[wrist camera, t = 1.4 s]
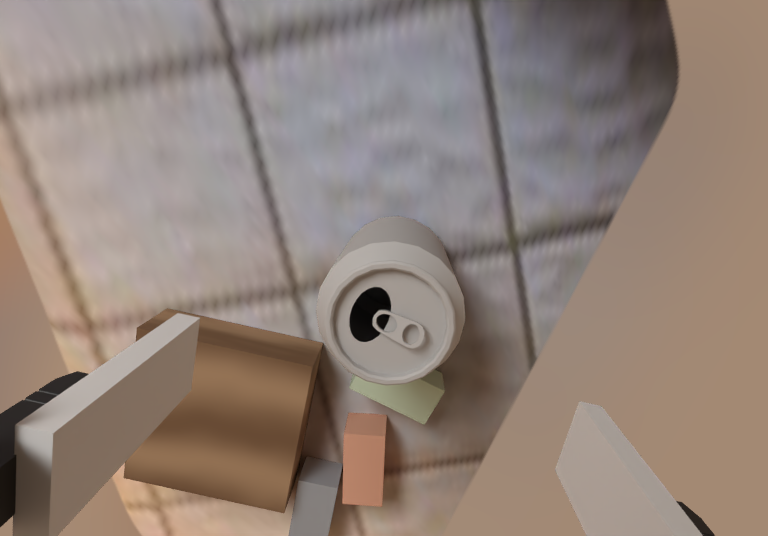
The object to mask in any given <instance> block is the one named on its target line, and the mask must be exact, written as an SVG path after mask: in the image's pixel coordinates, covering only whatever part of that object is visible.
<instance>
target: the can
mask: <svg viewBox="0 0 768 536" xmlns="http://www.w3.org/2000/svg"><path fill="white" fill-rule="evenodd" d="M316 314H317V320H318V327H319V332H320V334H321V336H322V338H323V340H324V342H325V344H326V346H327V348H328V350H329V352H330V353H331V354H332V355H333V356H334V357H335V358H336V359H337V360H338V361H339V362H340V363H341V364H342V365H343V366H344V367H345V368H346V369H347V371H348V372H350V373H352V374H354V375H356V376H357V377H359V378H361V379H363V380H365V381H367V382H372V383H377V384H381V385H399V384H407V383H410V382H412V381H415V380H418V379H420V378H423V377H425V376H426V375H428V374H429V373H431V372H432V371H433V370H435V369H436V368H437V367H439V366H440V365H441V364H442V363H444V362H445V361H446V360H447V359H448V358H449V356H450V355H451V353H452V352H453V350H454V349H455V347H456V346H457V344H458V343H459V341H460V338H461V334H462V331H463V327H464V323H465V305H464V296H463V294H462V291H461V289H460V286H459V284H458V281H457V279H456V276H455V274H454V271H453V269H452V266H451V264H450V262H449V259H448V257H447V254H446V252H445V249H444V247H443V245H442V242H441V241H440V239H439V238H438V237H437V236H436V235H435V234H434V233H433V231H432V230H431V229H430V228H428V227H427V226H425V225H423V224H421V223H420V222H418V221H416V220H414V219H409V218H405V217H400V216H394V217H384V218H379V219H377V220H375V221H372V222H370V223H368V224H366V225H364V226H363V227H362V228H361V229H360V230H359V231H358V232H357V233H355V234H354V235H353V236H352V238H351V239H350V241H349V242H348V244H347V245H346V247H345V248H344V250H343V251H342V253H341V254H340V256H339V257H338V259H337V260H336V262H335V263H334V265H333V266H332V268H331V270H330V271H329V273H328V275H327V277H326V279H325V280H324V282H323V284H322V286H321V287H320V291H319V296H318V302H317V307H316Z"/></svg>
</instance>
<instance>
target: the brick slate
mask: <svg viewBox="0 0 768 536" xmlns="http://www.w3.org/2000/svg"><path fill="white" fill-rule="evenodd" d="M342 466H343V464H341V463H336V462H331V461H326V460H322V459H317V458H312V457H307V456H306V459H305V462H304V466H303V469H302V472H301V475H300V478H299V481H298V486H297V492H296V498H295V503H294V509H293V514H292V520H291V525H290V531H289V536H328V534H329V529H330V524H331V519H332V514H333V510H334V505H335V500H336V495H337V490H338V485H339V480H340V475H341V471H342Z"/></svg>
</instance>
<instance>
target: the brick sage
mask: <svg viewBox="0 0 768 536" xmlns="http://www.w3.org/2000/svg"><path fill="white" fill-rule="evenodd" d="M349 388H350V389H352V390H354V391H356V392H358V393H360V394H362V395H364V396H366V397H368V398H370V399H372V400H374V401H376V402H378V403H380V404H382V405H384V406H386V407H389V408H391V409H393V410H395V411H397V412H399V413H401V414H403V415H405V416H407V417H409V418H411V419H413V420H415V421H417V422H419V423H421V424H423V425H425V423H426V422H427V420H428V418H429V417H430V415H431V413H432V412H433V410H434V409H435V407H436V405H437V404H438V402H439V400H440V399H441V397H442V395H443V394H444V392H445V389H444V383H443V377H442V373H441V372H439V371H437V370H433V371H432V372H431V373H429V374H428V375H426V376H425V377H423V378H420V379H418V380H415V381H412V382H410V383H407V384H399V385H381V384H377V383H372V382H367V381H365V380H363V379H361V378H359V377H357V376H356V375H354V374H353V375H352V379H351V383H350V387H349Z"/></svg>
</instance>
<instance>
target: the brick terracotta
mask: <svg viewBox="0 0 768 536" xmlns="http://www.w3.org/2000/svg"><path fill="white" fill-rule="evenodd" d="M386 422H387V415H380V414H364V413H348V417H347V422H346V426H345V431H344V452H343V499H342V504H352V505H367V506H381V507H382V500H383V485H384V465H385V443H386Z"/></svg>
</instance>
